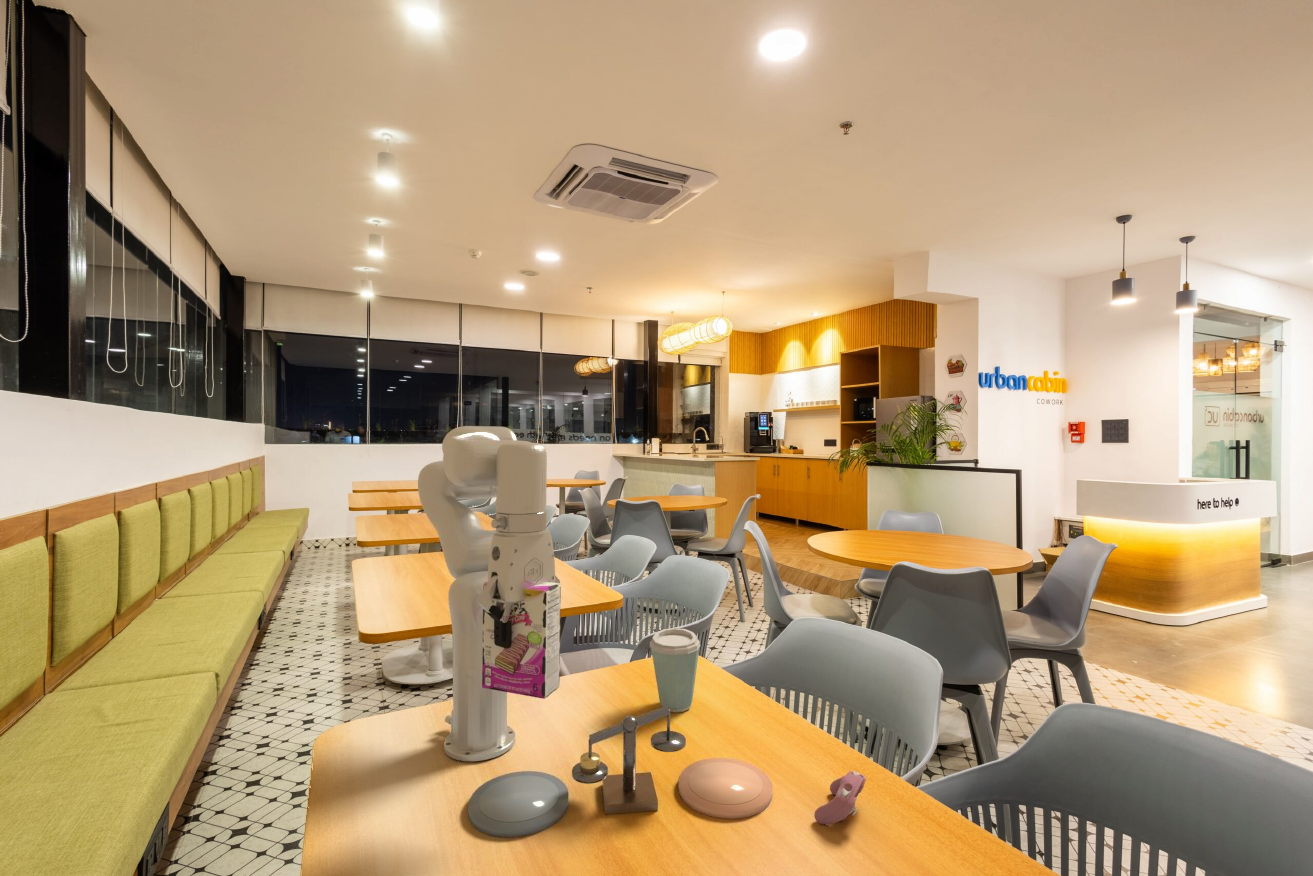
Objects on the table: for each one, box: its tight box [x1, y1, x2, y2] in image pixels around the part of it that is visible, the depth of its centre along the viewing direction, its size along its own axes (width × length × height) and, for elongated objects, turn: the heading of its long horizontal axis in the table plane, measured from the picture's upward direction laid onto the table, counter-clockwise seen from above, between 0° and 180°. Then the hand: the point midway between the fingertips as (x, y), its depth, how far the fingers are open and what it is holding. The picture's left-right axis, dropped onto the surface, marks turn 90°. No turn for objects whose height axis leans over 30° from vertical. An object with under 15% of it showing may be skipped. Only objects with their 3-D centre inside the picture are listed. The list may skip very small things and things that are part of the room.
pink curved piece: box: [813, 769, 867, 826], centre depth 94 cm, size 10×5×7 cm, turn 149°
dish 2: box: [678, 757, 773, 820], centre depth 100 cm, size 15×15×1 cm
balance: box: [571, 705, 687, 816], centre depth 98 cm, size 18×8×14 cm, turn 98°
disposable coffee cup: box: [649, 627, 701, 713], centre depth 130 cm, size 11×11×15 cm
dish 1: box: [467, 770, 570, 839], centre depth 95 cm, size 15×15×1 cm
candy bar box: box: [482, 581, 562, 700], centre depth 95 cm, size 11×5×16 cm, turn 71°
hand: (520, 639), depth 95 cm, fingers closed on candy bar box, 6 cm apart
